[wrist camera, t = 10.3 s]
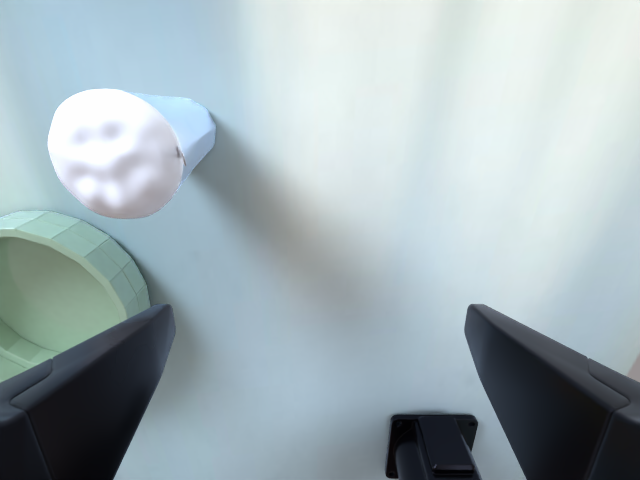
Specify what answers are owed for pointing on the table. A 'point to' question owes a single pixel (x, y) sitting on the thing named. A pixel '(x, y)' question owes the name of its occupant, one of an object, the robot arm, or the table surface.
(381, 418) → the table surface
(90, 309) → the dish
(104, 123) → the milkshake
